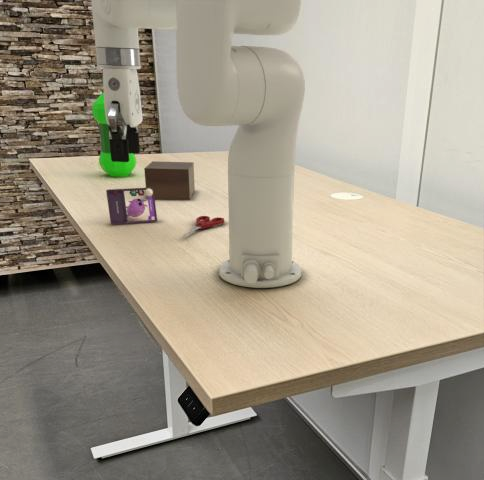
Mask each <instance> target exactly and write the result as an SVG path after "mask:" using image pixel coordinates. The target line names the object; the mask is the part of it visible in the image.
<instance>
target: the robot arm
mask: <svg viewBox="0 0 484 480" xmlns="http://www.w3.org/2000/svg"><path fill="white" fill-rule="evenodd" d="M90 2H91V3H90V4H91V13H92V21H93V22H92V23H93V25H92V26H93V34H94V36H93V37H94V43H95V44H94V46H95V56H96V65H97V68H100V69H102V77H103V84H102V89H103V92H104V105H105V115H106V121H107V124H108V125H109V127H108V128H109V141H110V152H111V160H112V161H113V162H128V161H129V153H133V154H134V155H136V154H137V155H138V154H140V153H141V148H140V147H141V146H140V134H139V125H140V124H141V123H142V122H143V118H144V117H143V108H142V99H141V90H140V82H139V75H138V71H137V70H141V69H142V68H141V55H140V42H139V41H140V39H139V29H146V30H147V29H149V30H162V31H171V30H174V29H176V86H177V87H176V89H177V96H178V99H179V100H178V101H179V103H180V106H181V108H182V111H183V112H184V114H185V115H186V117H187V118H188V119H189V120H190V121H191V122H193V123H195V124H196V125H199V126H202V127H203V126H204V127H227V126H228V127H229V126H231V127H232V126H238V127H237V129H236V131H235V134H234V135H233V138H232V141H231V143H230V145H229V150H228V154H227V155H228V157H227V187H228V188H227V193H228V194H227V195H228V196H227V200H228V203H227V204H228V246H229V247H228V255H229V258H228V259H227V260H225V261H223V262H222V263H221V264H220V265H219V267H218V272H219V277H220V278H221V279H222V280H223V281H225V282H227V283H229V284H232V285H235V286H239V287H244V288H253V289H254V288H255V289H268V288H269V289H270V288H279V287H284V286H288V285H290V284H293V283H295V282H297V281H298V280H299V279H300V278H301V277H302V267H301V265H300V264H299V263H298V262H296V261H294V260H293V230H294V197H295V171H296V151H297V150H296V149H297V137H298V129H299V124H300V118H301V114H302V110H303V104H304V100H305V91H306V81H305V75H304V72H303V69H302V67H301V65H300V64H299V62H298V61H297V60H296V59H295V57H293V56H292V55H291V54H289V53H288V52H286V51H284V50H281V49H278V48H274V47H267V46H252V45H251V46H249V45H232V41H233V36H234V35H235V34H236V35H248V36H249V35H250V36H279V35H283V34H287V33H288V32H290V31H291V30H292V29H293V28H294V26H296V24H297V21H298V18H299V16H300V10H301V7H302V6H301V5H302V0H90ZM121 128H122V131H121Z"/></svg>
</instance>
